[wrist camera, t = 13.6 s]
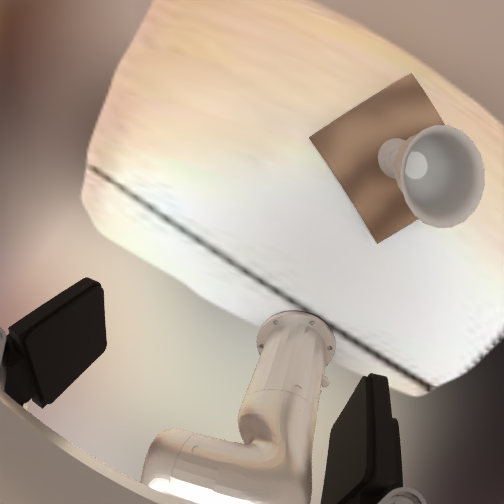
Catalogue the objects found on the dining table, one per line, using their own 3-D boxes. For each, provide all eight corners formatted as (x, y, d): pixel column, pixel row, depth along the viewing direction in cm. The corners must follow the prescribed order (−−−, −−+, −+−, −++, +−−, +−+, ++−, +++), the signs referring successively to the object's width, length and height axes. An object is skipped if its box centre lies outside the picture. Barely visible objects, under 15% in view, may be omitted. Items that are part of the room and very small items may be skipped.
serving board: (468, 180, 35) (474, 183, 33) (375, 238, 41) (377, 243, 39) (408, 75, 32) (411, 72, 30) (309, 137, 39) (308, 137, 37)
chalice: (372, 126, 34) (402, 117, 18) (424, 133, 33) (488, 134, 16) (369, 184, 37) (394, 222, 21) (420, 190, 35) (477, 233, 19)
